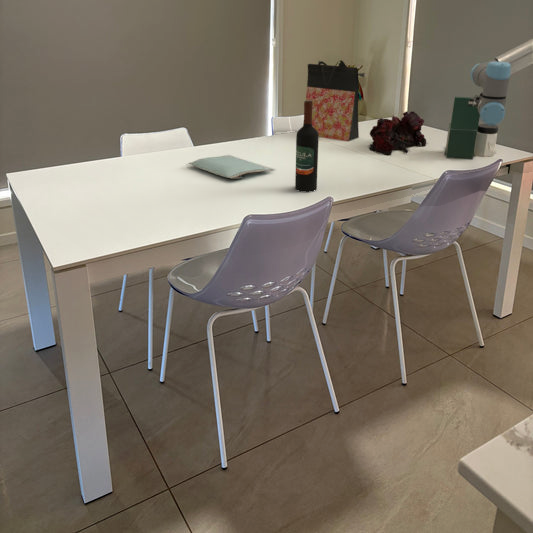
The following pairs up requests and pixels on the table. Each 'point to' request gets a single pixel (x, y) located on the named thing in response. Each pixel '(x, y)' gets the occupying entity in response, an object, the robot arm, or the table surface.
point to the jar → (485, 140)
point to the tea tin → (460, 143)
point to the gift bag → (334, 100)
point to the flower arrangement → (397, 134)
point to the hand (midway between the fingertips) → (483, 96)
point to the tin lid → (464, 115)
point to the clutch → (228, 166)
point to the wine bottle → (307, 153)
